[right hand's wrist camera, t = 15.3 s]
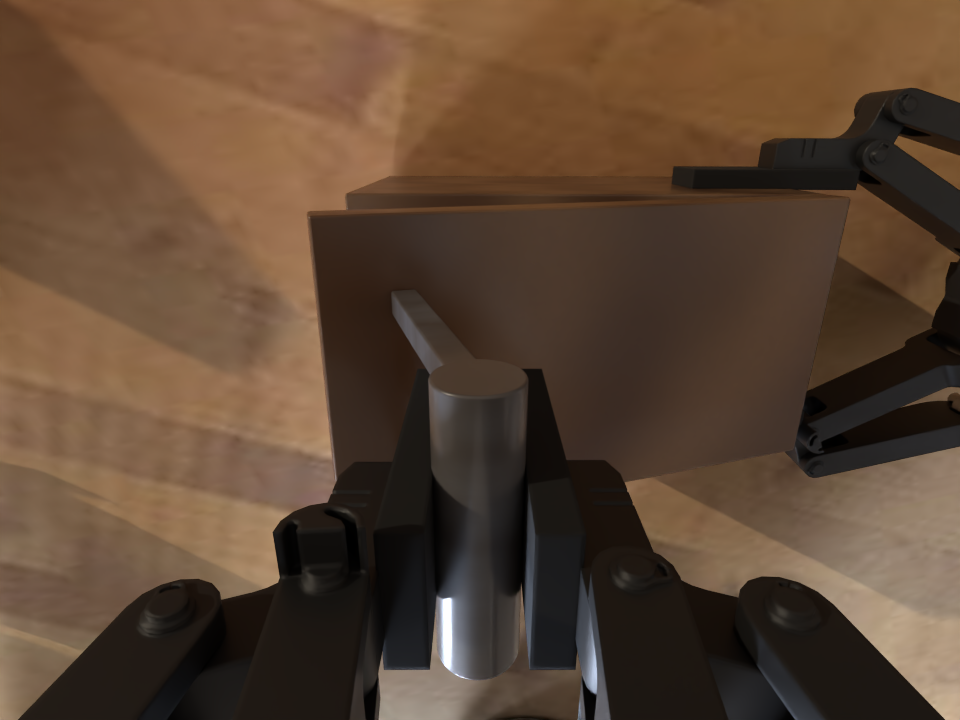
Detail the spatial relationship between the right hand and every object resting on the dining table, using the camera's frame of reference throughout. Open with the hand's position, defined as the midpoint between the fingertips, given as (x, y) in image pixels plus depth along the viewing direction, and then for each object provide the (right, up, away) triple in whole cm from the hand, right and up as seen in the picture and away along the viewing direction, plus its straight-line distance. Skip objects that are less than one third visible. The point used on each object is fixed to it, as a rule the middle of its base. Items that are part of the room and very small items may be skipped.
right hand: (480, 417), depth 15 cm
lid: (+4, +2, +5) cm, 6 cm away
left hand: (+8, +4, +11) cm, 14 cm away
